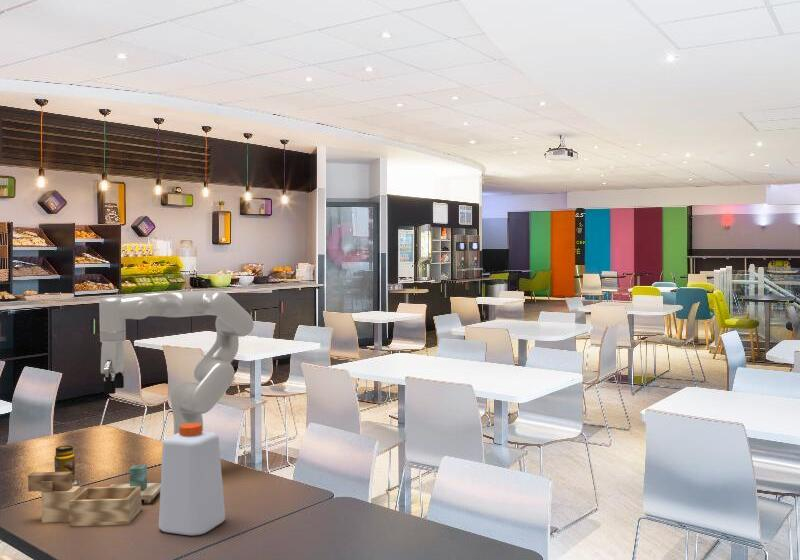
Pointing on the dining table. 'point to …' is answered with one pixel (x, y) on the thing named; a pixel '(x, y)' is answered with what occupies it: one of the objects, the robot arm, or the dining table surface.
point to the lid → (141, 483)
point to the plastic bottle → (191, 482)
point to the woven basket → (90, 505)
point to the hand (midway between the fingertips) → (114, 390)
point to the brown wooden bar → (60, 480)
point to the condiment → (65, 461)
